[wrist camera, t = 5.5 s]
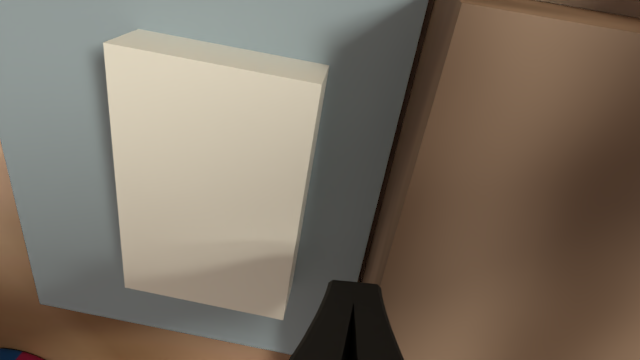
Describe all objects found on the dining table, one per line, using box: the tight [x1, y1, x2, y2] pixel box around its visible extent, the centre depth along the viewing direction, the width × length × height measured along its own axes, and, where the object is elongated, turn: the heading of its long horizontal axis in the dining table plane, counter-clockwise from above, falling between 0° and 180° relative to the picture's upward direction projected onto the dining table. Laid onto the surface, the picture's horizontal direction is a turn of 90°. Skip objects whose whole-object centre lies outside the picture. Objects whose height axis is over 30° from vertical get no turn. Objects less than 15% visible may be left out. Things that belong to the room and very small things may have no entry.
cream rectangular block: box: [103, 29, 329, 320], centre depth 15 cm, size 6×9×2 cm, turn 171°
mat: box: [0, 0, 429, 355], centre depth 16 cm, size 14×16×1 cm
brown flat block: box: [361, 0, 640, 360], centre depth 14 cm, size 11×16×4 cm
